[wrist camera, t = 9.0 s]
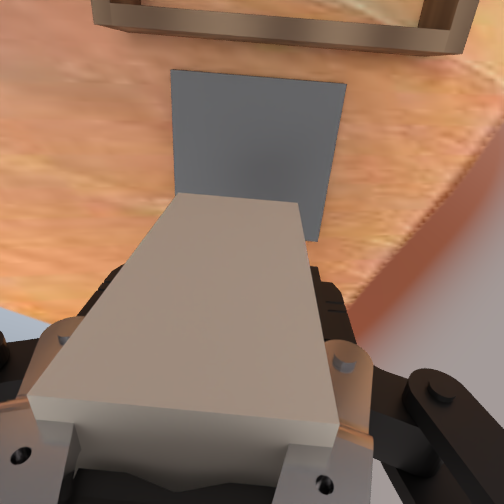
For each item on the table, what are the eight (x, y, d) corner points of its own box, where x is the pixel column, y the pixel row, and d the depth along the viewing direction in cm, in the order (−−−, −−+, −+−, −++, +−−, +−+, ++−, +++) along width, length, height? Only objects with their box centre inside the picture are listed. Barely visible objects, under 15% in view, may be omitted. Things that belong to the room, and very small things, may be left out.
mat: (178, 225, 30) (176, 229, 29) (173, 69, 24) (170, 69, 23) (316, 237, 29) (317, 241, 29) (344, 83, 24) (346, 84, 23)
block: (181, 290, 15) (79, 541, 7) (178, 192, 13) (25, 395, 5) (283, 300, 15) (296, 562, 7) (297, 202, 13) (339, 424, 5)
